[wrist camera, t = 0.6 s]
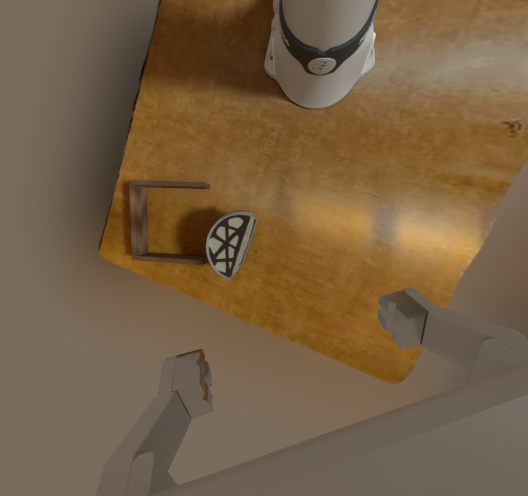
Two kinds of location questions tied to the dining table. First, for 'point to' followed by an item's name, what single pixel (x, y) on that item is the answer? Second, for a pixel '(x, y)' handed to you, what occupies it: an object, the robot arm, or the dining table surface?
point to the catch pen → (141, 227)
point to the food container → (230, 242)
